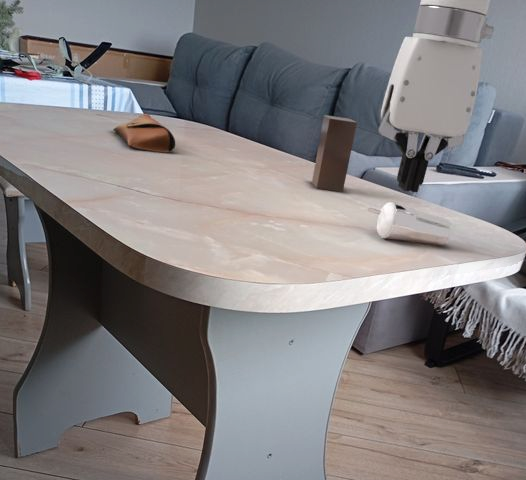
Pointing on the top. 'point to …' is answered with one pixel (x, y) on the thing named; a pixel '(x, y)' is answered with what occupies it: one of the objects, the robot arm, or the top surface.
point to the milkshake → (411, 225)
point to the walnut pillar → (333, 153)
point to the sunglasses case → (146, 134)
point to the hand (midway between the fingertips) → (407, 189)
